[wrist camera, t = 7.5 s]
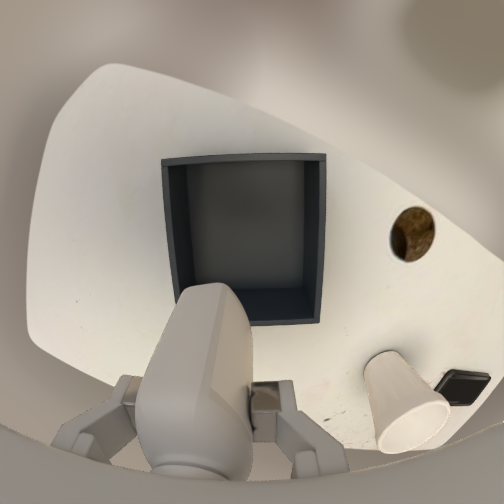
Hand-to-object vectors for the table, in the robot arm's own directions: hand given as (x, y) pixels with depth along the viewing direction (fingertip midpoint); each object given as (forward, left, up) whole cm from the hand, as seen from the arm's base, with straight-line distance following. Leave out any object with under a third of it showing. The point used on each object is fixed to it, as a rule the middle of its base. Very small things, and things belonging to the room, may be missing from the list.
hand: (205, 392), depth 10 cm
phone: (+30, +40, -23) cm, 55 cm away
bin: (-1, +1, -23) cm, 23 cm away
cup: (+20, +20, -23) cm, 37 cm away
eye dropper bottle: (0, 0, -5) cm, 5 cm away
